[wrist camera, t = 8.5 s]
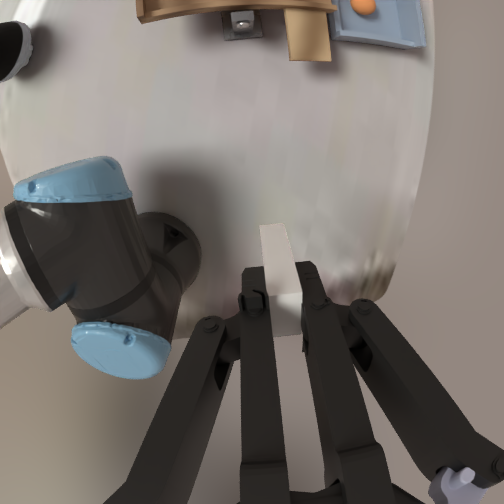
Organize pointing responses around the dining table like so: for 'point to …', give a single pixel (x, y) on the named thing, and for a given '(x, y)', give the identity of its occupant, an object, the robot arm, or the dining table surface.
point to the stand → (241, 24)
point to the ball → (363, 6)
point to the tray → (380, 24)
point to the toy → (14, 48)
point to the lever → (293, 3)
